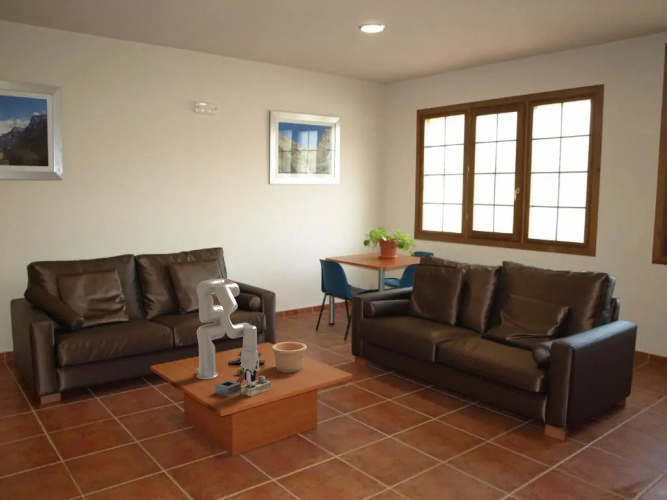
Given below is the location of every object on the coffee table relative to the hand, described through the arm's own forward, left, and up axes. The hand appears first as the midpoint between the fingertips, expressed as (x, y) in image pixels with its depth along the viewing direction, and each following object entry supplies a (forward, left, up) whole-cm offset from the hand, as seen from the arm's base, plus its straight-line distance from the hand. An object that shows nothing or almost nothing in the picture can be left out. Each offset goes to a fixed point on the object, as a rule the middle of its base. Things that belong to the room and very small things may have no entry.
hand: (250, 380), depth 317 cm
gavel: (-20, +14, -8) cm, 26 cm away
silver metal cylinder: (0, 0, -6) cm, 6 cm away
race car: (-47, +46, -8) cm, 66 cm away
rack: (0, +4, -8) cm, 9 cm away
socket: (-11, -7, -8) cm, 15 cm away
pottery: (-11, +46, -8) cm, 48 cm away
